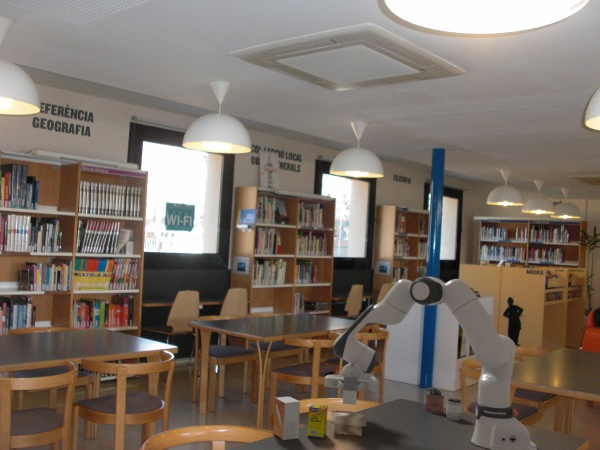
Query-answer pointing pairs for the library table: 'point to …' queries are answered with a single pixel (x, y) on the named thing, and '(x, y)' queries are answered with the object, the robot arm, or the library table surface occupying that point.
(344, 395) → the block
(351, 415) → the birch stand
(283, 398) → the small box
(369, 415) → the library table surface
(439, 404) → the lighter
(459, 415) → the camera lens
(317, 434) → the supplement box
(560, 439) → the library table surface
